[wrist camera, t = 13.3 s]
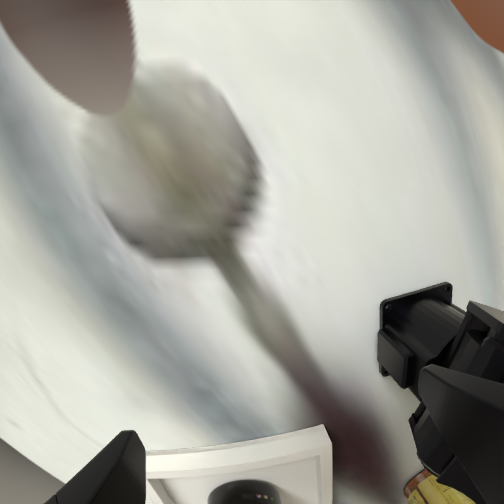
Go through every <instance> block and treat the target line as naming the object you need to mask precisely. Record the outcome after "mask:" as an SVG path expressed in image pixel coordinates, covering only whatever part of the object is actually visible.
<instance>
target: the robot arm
mask: <svg viewBox="0 0 504 504" xmlns="http://www.w3.org/2000/svg"><path fill="white" fill-rule="evenodd" d="M446 287H447V289H446ZM445 290H446V291H445ZM388 304H389V307H388V308H387V309H385V308H386V306H387V305H388ZM466 309H467V312H465V311H464V310H462V309H460V308H459V307H457V306H455V305H454V304H452V285H451V284H450V283H448V282H443V283H440V284H437V285H433V286H430V287H427V288H423V289H420V290H417V291H413V292H410V293H406V294H403V295H399V296H396V297H392V298H388V299H385V300H383V301H382V302H381V304H380V329H379V331H378V361H379V372H380V373H381V375H382V376H384V377H385V376H389V375H391V376H392V377H393V379H394V380H395V381H396V382H397V383H398V385H399V386H400V387H401V388H403V389H406V388H409V389H410V390H411V392H412V393H413V394H414V395H415V396H416V397H417V398H418V400H419V401H420V402H421V403H420V405H419V406H418V408H417V410H416V411H415V413H413V414H412V415H411V417H410V418H409V424H410V427H411V430H412V434H413V437H414V441H415V444H416V448H417V451H418V452H417V455H418V458H419V459H420V461H421V463H422V464H423V466H424V468H425V469H427V470H428V471H429V472H430V473H431V474H432V475H434V476H435V477H437V479H436V482H437V483H439V484H442V485H445V486H448V487H451V488H453V489H455V490H457V491H459V492H461V493H463V494H464V495H466V496H467V497H468V498H470V499H471V500H472V501H474V502H475V503H476V504H504V311H501V310H498V309H495V308H492V307H489V306H486V305H483V304H480V303H477V302H473V301H470V300H469V303H468V305H467V308H466ZM385 370H386V371H385ZM145 500H146V451H145V448H144V446H143V444H142V442H141V440H140V438H139V436H138V435H137V433H136V432H135V431H134V430H124V431H121V432H120V433H119V434H118V435H117V436H116V437H115V438H114V439H113V440H112V441H111V442H110V443H109V444H108V445H107V446H106V447H105V448H103V449H102V450H101V451H100V452H99V453H98V454H97V455H96V456H95V457H94V458H93V459H92V460H91V461H90V462H89V463H88V464H87V465H86V466H85V467H83V468H82V469H81V470H80V471H79V472H78V473H77V474H76V475H75V476H74V477H73V478H72V479H71V480H70V481H68V482H67V483H66V484H65V485H64V486H63V487H62V488H61V489H60V490H59V491H58V492H57V493H56V495H53V496H52V497H51V498H50V499H49V500H48V501H46V502H45V503H44V504H145Z"/></svg>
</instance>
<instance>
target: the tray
mask: <svg viewBox="0 0 504 504" xmlns="http://www.w3.org/2000/svg"><path fill="white" fill-rule="evenodd" d="M236 480H258V481H262V482H266V483H268V484H270V485H272V486H273V487H274V488H275V489H276V490H277V491H278V493H279V496H280V500H281V503H282V504H332V443H331V441H330V438H329V436H328V434H327V431H326V429H325V427H324V424H322V425H318V426H314V427H310V428H306V429H302V430H298V431H293V432H289V433H284V434H280V435H275V436H270V437H265V438H259V439H254V440H248V441H242V442H236V443H229V444H222V445H214V446H206V447H197V448H187V449H174V450H159V451H146V494H147V496H148V497H149V498H150V500H151V501H152V503H153V504H207V500H208V496H209V494H210V493H211V492H212V491H213V490H214V489H215V488H216V487H218V486H220V485H222V484H224V483H227V482H231V481H236Z"/></svg>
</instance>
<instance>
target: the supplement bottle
mask: <svg viewBox="0 0 504 504" xmlns="http://www.w3.org/2000/svg"><path fill="white" fill-rule="evenodd" d="M207 504H282V503H281V500H280V496H279V493H278V491H277V490H276V489H275V488H274V487H273V486H272V485H270V484H268V483H266V482H262V481H258V480H236V481H231V482H227V483H224V484H222V485H220V486H218V487H216V488H215V489H214V490H213V491H212V492H211V493H210V494H209V496H208V500H207Z"/></svg>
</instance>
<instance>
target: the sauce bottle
mask: <svg viewBox="0 0 504 504" xmlns="http://www.w3.org/2000/svg"><path fill="white" fill-rule="evenodd" d="M436 479H437V477H435V476H434V475H432V474H431V473H430V472H429V471H428V470H427V469H425V470H423V471H422V472H421V473H419V474H418V475H417V476H415V477H414V478H413V479H411V481H410V482H409V483H408V484H407V486H406V487H405V489H404V494H405V496H406V497H407V499H408V502H409V504H475V503H474V501H472V500H471V499H470V498H468V497H467V496H466V495H464V494H463V493H461V492H459V491H457V490H455V489H453V488H451V487H448V486H445V485H442V484H439V483H437V482H436Z"/></svg>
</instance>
